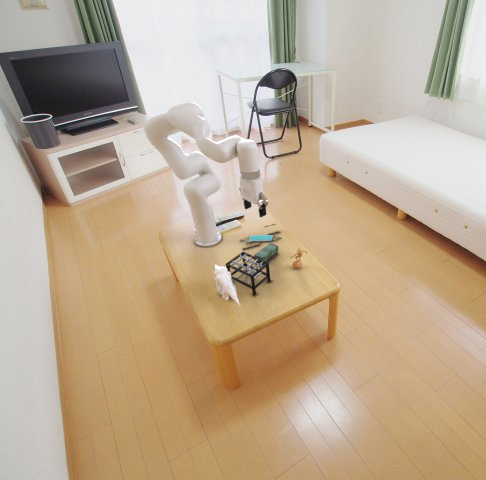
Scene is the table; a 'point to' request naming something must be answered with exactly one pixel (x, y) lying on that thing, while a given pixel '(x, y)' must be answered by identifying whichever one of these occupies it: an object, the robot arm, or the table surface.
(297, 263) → the figurine
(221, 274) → the dinosaur statue
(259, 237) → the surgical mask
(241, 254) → the rack
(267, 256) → the teal sanding sponge
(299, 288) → the table surface
